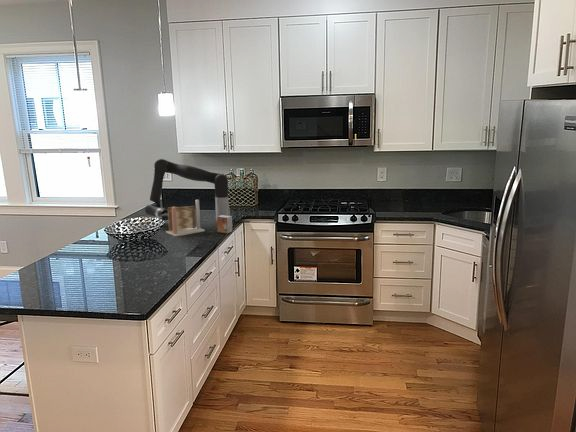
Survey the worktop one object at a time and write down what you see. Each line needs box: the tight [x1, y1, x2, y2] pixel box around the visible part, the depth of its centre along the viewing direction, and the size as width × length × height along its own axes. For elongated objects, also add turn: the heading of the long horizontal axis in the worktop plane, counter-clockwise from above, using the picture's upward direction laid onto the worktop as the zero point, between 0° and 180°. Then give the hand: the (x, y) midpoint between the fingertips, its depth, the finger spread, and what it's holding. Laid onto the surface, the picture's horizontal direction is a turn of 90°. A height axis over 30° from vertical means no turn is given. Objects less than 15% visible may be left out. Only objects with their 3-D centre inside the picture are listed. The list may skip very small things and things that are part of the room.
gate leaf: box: [167, 205, 197, 231], centre depth 292 cm, size 17×1×15 cm, turn 114°
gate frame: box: [165, 199, 206, 237], centre depth 291 cm, size 21×13×20 cm, turn 132°
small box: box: [216, 215, 233, 234], centre depth 292 cm, size 8×6×10 cm
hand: (174, 218), depth 291 cm, fingers closed
